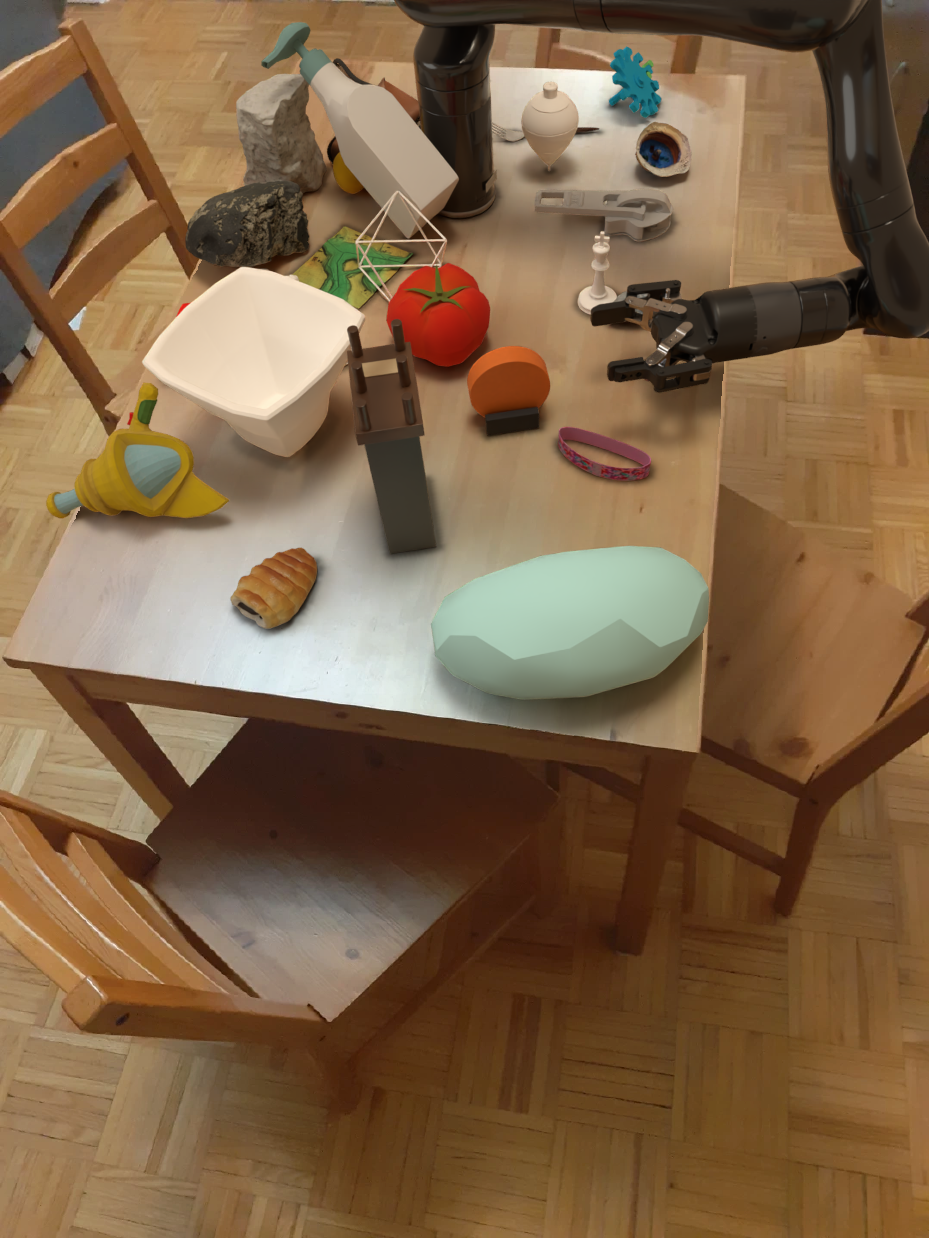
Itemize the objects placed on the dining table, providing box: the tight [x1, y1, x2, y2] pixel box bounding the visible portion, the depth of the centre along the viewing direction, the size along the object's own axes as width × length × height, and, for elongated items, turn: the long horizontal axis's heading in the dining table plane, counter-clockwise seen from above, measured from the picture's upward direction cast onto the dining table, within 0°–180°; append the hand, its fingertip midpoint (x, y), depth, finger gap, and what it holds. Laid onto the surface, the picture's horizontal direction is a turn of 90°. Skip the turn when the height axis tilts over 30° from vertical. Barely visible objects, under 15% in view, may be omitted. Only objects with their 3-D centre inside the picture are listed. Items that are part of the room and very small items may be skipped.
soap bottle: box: [260, 21, 459, 240], centre depth 117 cm, size 11×8×27 cm
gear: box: [608, 46, 662, 119], centre depth 135 cm, size 11×6×10 cm
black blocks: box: [484, 407, 540, 437], centre depth 106 cm, size 6×5×2 cm
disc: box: [466, 345, 551, 418], centre depth 103 cm, size 9×2×9 cm, turn 98°
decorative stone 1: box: [235, 73, 327, 194], centre depth 126 cm, size 10×9×15 cm
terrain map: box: [291, 225, 414, 310], centre depth 122 cm, size 12×12×1 cm
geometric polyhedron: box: [356, 191, 448, 303], centre depth 116 cm, size 12×11×9 cm
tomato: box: [385, 262, 491, 367], centre depth 110 cm, size 13×12×8 cm
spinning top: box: [520, 81, 580, 172], centre depth 125 cm, size 8×8×12 cm
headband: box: [557, 426, 652, 482], centre depth 102 cm, size 11×4×2 cm, turn 62°
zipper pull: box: [534, 188, 674, 243], centre depth 122 cm, size 8×18×4 cm, turn 82°
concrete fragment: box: [184, 181, 310, 268], centre depth 122 cm, size 15×10×15 cm
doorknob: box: [332, 152, 365, 195], centre depth 128 cm, size 8×8×8 cm
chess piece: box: [577, 230, 618, 316], centre depth 112 cm, size 5×5×10 cm
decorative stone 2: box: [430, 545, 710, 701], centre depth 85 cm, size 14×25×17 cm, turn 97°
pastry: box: [230, 547, 318, 630], centre depth 95 cm, size 9×7×4 cm
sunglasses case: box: [326, 77, 420, 165], centre depth 136 cm, size 18×7×7 cm
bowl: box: [141, 266, 366, 458], centre depth 102 cm, size 19×19×14 cm
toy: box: [45, 382, 230, 519], centre depth 100 cm, size 10×20×15 cm
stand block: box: [364, 436, 437, 555], centre depth 93 cm, size 5×9×18 cm, turn 8°
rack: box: [347, 319, 426, 446], centre depth 83 cm, size 6×10×4 cm, turn 8°
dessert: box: [634, 121, 693, 178], centre depth 126 cm, size 8×7×6 cm
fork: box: [492, 121, 600, 142], centre depth 134 cm, size 3×16×2 cm, turn 89°
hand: (599, 344), depth 100 cm, fingers open, 8 cm apart
